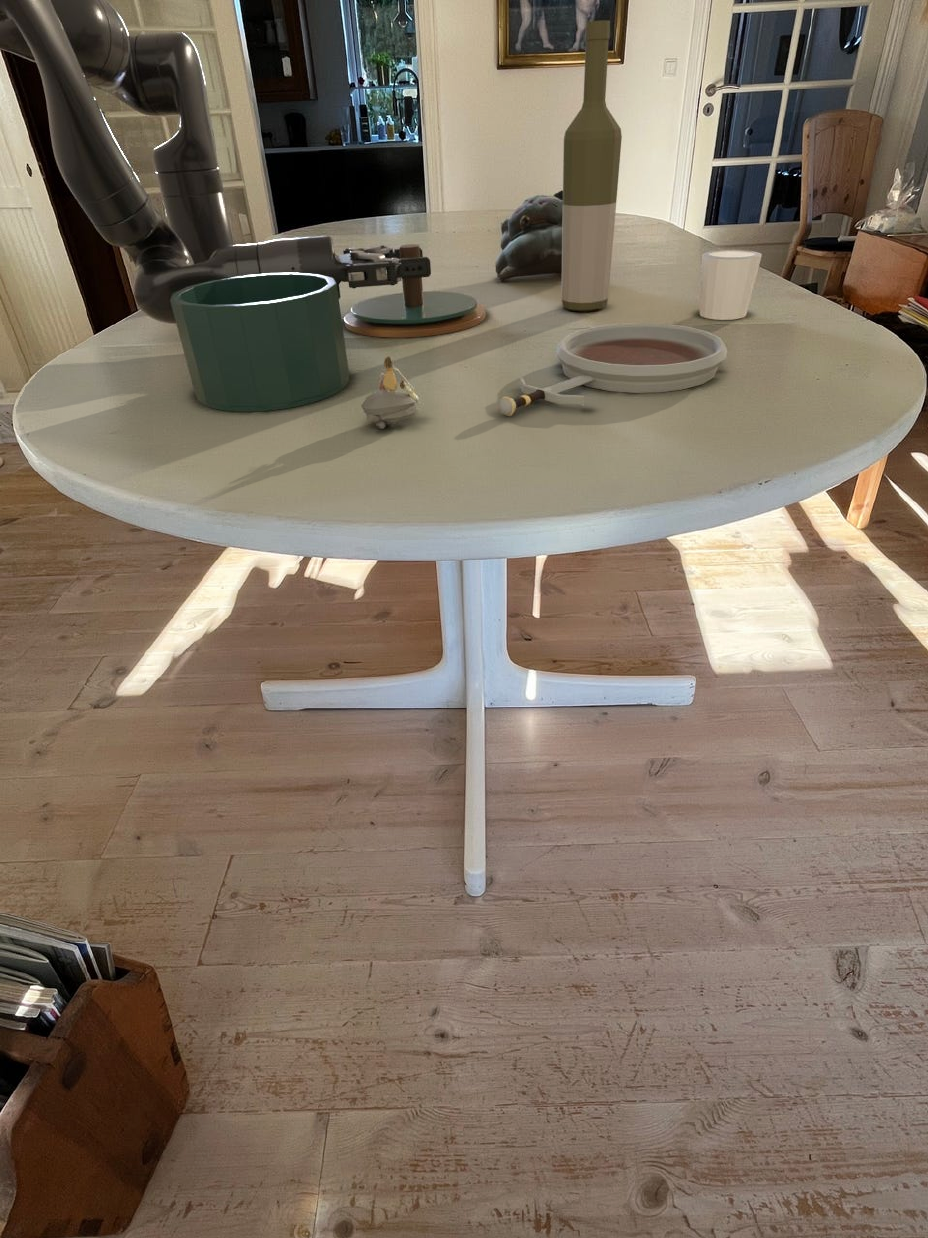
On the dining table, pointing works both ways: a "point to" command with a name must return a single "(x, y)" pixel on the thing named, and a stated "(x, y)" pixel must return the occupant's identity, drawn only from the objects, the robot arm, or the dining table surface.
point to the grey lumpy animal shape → (532, 238)
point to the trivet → (415, 326)
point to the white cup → (727, 283)
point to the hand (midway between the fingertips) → (426, 261)
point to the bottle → (590, 184)
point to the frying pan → (629, 362)
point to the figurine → (390, 399)
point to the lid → (413, 302)
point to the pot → (262, 340)
